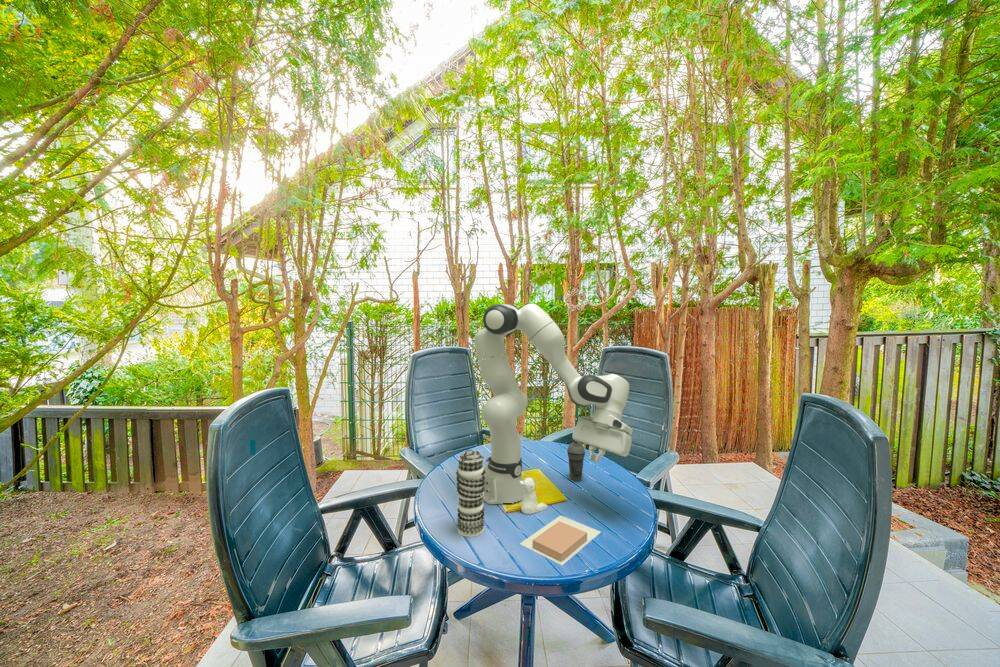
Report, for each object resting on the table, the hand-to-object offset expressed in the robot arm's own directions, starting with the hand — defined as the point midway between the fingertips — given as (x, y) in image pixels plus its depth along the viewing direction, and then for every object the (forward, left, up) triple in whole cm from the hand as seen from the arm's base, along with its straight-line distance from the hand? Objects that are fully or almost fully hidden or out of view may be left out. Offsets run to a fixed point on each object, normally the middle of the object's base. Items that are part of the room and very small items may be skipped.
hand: (593, 461), depth 134 cm
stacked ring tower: (-26, -31, -20) cm, 45 cm away
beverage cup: (-21, +24, -20) cm, 37 cm away
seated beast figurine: (-19, -9, -20) cm, 29 cm away
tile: (0, -13, -18) cm, 22 cm away
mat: (-1, -17, -20) cm, 26 cm away
